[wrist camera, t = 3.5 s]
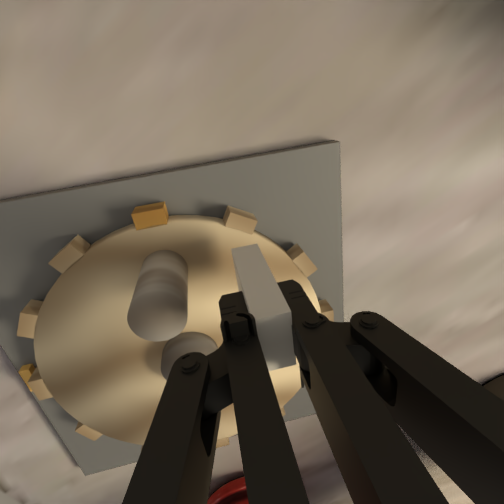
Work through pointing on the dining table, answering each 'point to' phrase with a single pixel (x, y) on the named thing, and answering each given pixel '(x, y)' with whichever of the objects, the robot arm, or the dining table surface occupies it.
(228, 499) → the plant pot
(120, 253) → the sprocket
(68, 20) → the dining table surface
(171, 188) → the sprocket base
